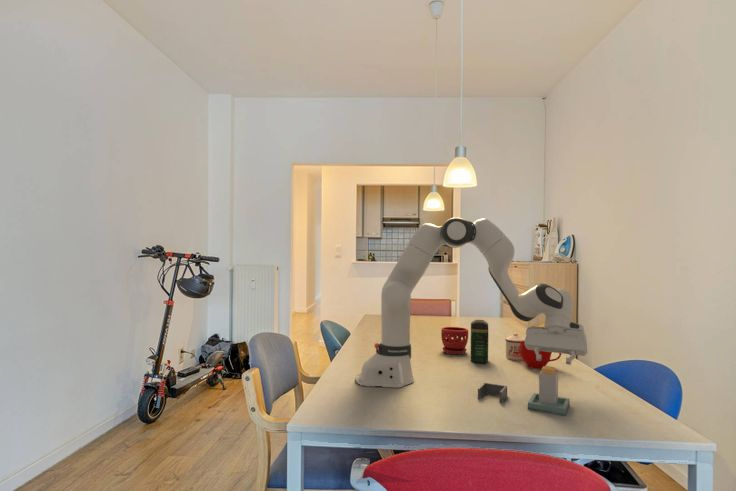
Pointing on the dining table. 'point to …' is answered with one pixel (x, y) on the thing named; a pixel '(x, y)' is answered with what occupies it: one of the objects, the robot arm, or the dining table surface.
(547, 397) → the grey pillar orange cap
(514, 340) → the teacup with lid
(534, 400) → the tray
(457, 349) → the plant pot
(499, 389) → the bay
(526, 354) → the ceramic cup
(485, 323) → the coffee jar
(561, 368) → the dining table surface
